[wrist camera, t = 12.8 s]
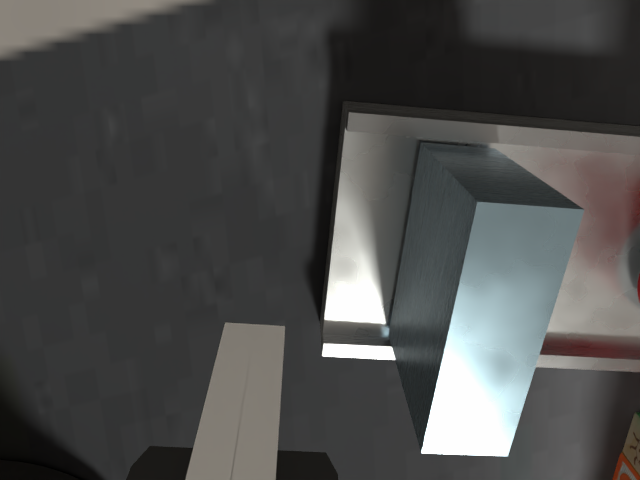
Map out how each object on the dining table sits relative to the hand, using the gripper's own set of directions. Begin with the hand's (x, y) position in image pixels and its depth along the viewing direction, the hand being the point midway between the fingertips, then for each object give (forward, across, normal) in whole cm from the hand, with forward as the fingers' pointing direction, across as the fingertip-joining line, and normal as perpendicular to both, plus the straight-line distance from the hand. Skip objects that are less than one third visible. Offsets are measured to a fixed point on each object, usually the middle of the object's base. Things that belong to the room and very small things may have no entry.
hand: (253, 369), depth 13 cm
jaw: (+9, +7, 0) cm, 11 cm away
